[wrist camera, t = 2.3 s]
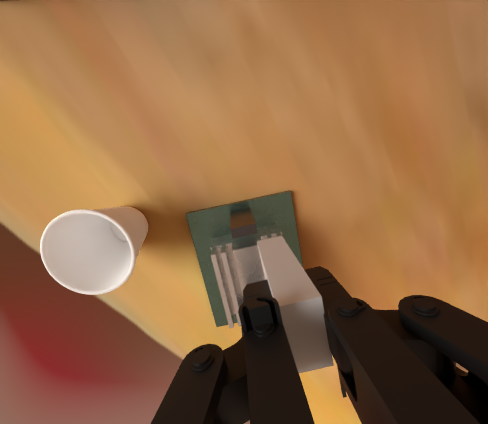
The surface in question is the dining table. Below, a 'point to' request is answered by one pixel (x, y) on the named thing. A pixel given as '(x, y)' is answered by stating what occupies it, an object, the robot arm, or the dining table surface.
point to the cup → (93, 248)
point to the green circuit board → (239, 247)
